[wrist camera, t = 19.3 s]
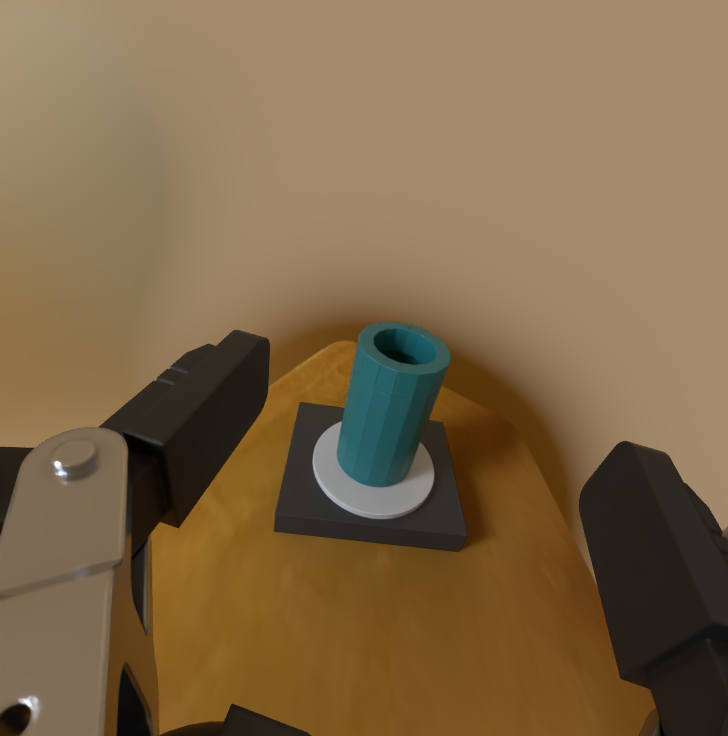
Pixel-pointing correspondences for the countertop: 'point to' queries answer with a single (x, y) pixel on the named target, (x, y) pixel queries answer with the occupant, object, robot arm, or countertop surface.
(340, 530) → the scale
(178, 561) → the countertop surface
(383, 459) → the jar
